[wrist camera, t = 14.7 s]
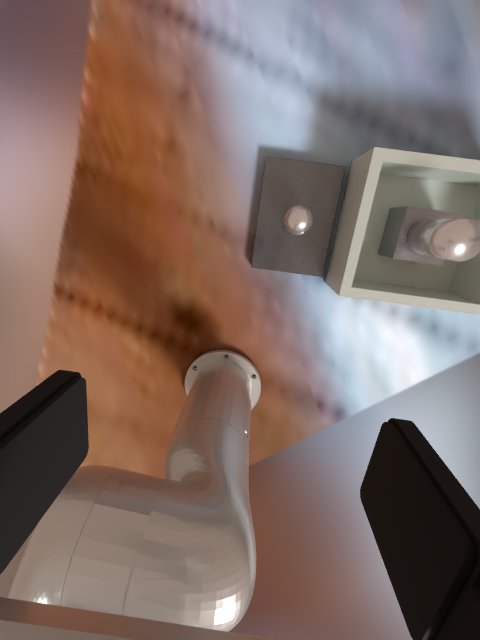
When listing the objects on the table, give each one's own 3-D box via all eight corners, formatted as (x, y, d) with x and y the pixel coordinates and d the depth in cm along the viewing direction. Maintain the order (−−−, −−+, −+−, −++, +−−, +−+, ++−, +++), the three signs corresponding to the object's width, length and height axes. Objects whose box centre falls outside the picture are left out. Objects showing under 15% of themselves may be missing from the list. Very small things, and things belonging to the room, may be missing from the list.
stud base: (319, 274, 44) (329, 283, 38) (251, 265, 44) (250, 273, 38) (342, 168, 39) (357, 159, 33) (266, 158, 39) (267, 147, 33)
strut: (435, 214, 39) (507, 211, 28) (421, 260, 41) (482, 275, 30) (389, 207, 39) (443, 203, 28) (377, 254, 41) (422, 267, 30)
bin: (448, 299, 44) (488, 315, 36) (325, 282, 44) (339, 295, 36) (492, 178, 38) (549, 169, 31) (351, 161, 39) (374, 146, 31)
